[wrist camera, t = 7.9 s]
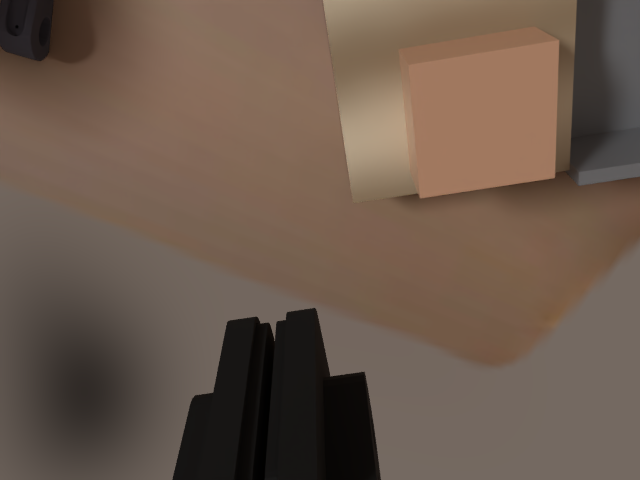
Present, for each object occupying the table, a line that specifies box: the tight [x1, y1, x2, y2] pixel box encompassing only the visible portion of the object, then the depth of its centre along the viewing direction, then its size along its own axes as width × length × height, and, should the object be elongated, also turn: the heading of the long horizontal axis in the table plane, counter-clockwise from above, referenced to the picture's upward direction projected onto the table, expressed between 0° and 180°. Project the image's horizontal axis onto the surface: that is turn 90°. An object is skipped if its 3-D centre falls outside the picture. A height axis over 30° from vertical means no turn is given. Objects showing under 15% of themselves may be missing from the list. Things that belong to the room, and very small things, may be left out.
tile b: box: [399, 26, 559, 198], centre depth 23 cm, size 5×5×2 cm
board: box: [323, 0, 577, 203], centre depth 24 cm, size 13×9×3 cm
